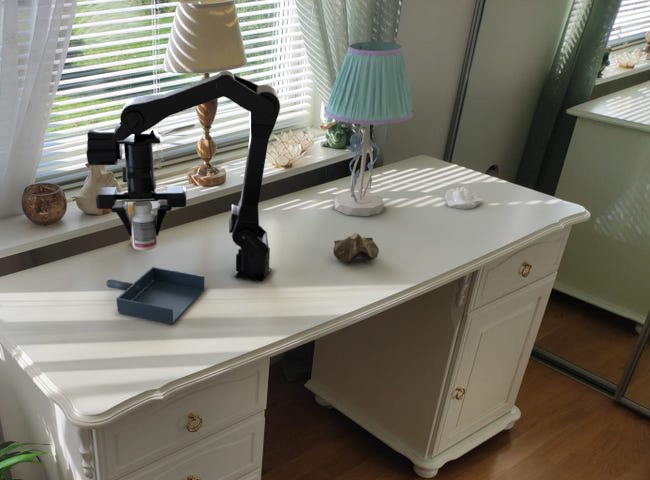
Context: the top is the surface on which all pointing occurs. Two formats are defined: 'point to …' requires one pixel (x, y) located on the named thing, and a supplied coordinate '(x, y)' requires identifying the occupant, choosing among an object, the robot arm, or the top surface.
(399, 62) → the table lamp
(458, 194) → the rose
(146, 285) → the dustpan
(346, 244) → the fossilized seashell
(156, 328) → the top surface
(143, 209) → the pill bottle
